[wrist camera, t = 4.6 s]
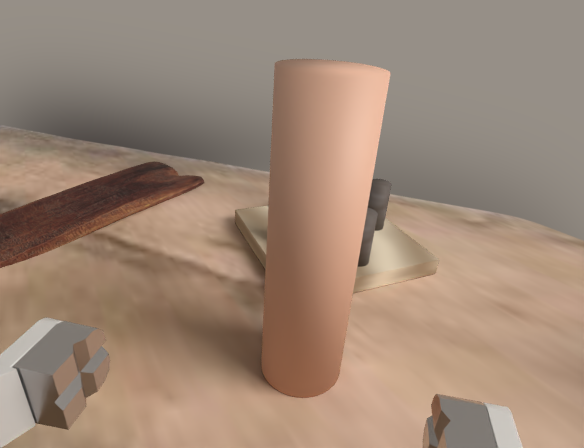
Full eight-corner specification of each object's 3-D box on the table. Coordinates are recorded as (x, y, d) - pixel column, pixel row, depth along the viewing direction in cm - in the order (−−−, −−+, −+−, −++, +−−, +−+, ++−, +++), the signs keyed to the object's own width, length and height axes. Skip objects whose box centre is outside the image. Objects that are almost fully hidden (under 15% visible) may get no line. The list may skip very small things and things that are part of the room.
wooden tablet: (-37, 276, 31) (-99, 221, 35) (-30, 299, 32) (-91, 243, 36) (211, 177, 51) (154, 149, 55) (210, 193, 52) (154, 164, 56)
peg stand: (290, 307, 32) (295, 239, 29) (235, 223, 43) (235, 167, 40) (435, 273, 37) (452, 213, 34) (353, 206, 48) (360, 156, 45)
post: (279, 408, 24) (305, 78, 15) (250, 347, 28) (258, 58, 19) (354, 383, 26) (414, 77, 17) (317, 329, 30) (351, 59, 21)
